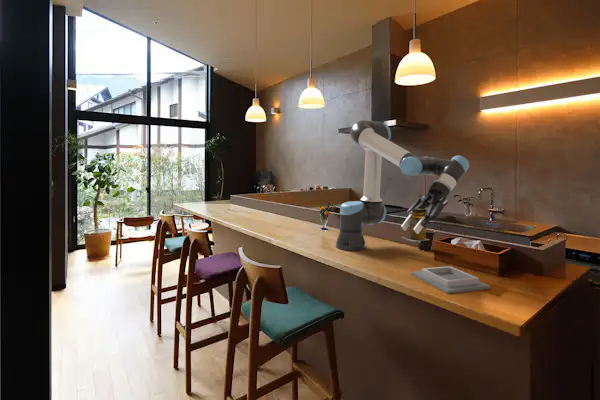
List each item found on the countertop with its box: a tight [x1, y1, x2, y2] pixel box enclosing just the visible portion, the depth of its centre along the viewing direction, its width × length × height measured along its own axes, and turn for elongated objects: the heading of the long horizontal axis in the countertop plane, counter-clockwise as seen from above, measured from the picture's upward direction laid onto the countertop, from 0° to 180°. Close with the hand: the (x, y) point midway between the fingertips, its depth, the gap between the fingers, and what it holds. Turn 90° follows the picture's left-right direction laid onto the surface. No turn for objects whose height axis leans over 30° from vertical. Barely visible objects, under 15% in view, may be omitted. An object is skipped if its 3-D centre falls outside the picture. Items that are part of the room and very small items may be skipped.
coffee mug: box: [417, 228, 436, 252], centre depth 170 cm, size 12×9×10 cm
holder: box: [410, 265, 491, 294], centre depth 123 cm, size 20×18×3 cm
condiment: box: [401, 208, 430, 242], centre depth 131 cm, size 7×8×12 cm
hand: (409, 229), depth 129 cm, fingers closed on condiment, 6 cm apart
